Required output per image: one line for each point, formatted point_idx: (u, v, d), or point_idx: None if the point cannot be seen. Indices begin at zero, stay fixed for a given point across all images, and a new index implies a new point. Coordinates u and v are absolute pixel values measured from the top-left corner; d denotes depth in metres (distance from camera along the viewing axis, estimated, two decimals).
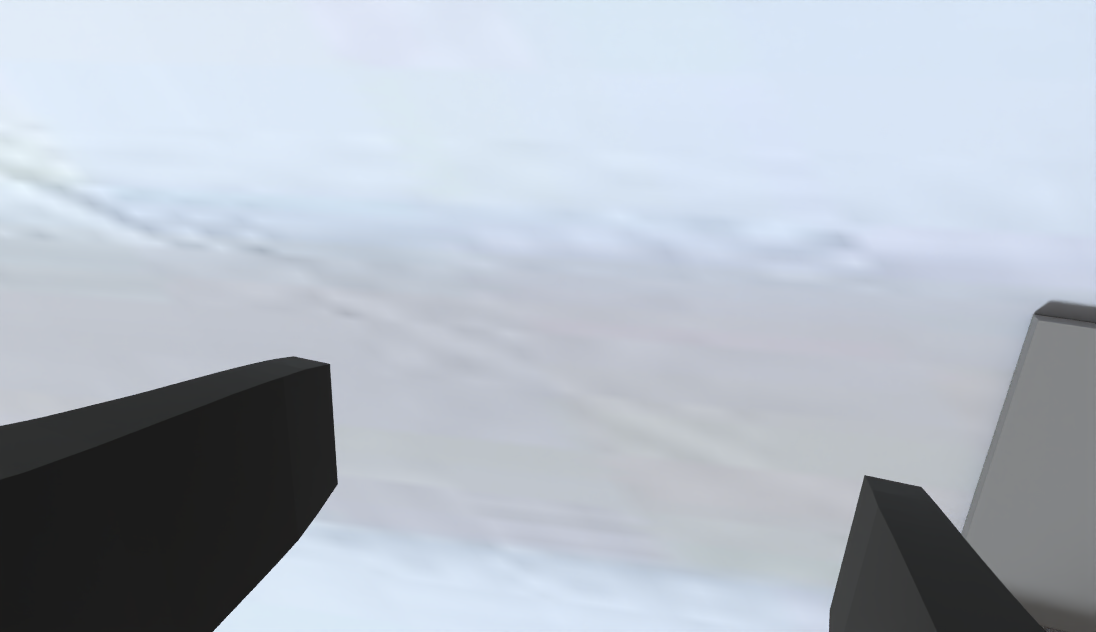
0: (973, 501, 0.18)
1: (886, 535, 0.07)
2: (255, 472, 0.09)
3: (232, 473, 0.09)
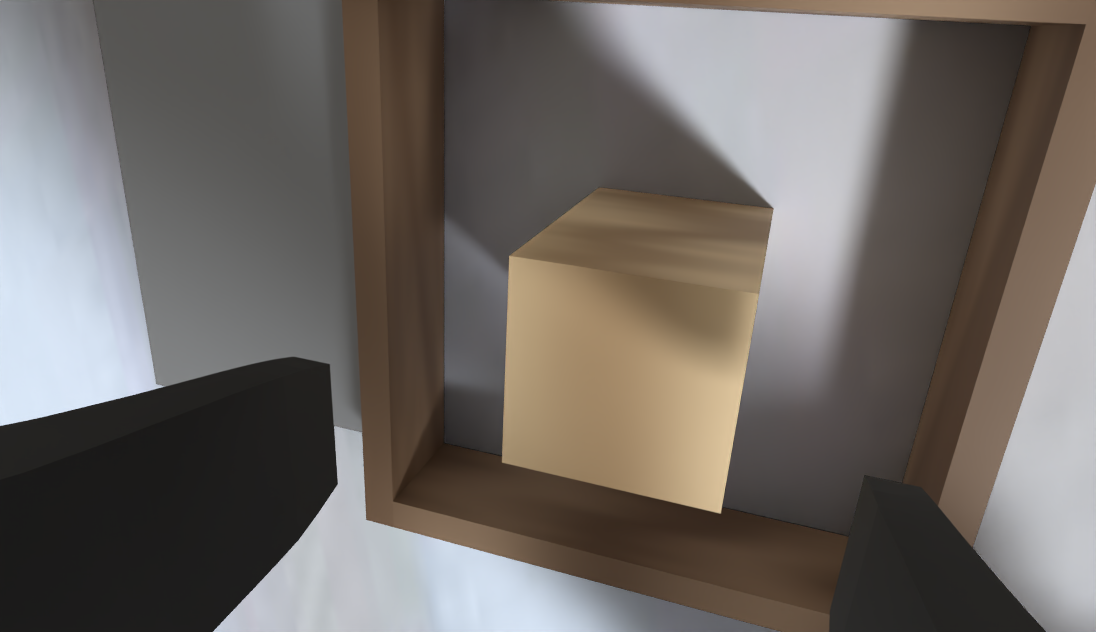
0: None
1: (886, 535, 0.07)
2: (255, 472, 0.09)
3: (232, 473, 0.09)
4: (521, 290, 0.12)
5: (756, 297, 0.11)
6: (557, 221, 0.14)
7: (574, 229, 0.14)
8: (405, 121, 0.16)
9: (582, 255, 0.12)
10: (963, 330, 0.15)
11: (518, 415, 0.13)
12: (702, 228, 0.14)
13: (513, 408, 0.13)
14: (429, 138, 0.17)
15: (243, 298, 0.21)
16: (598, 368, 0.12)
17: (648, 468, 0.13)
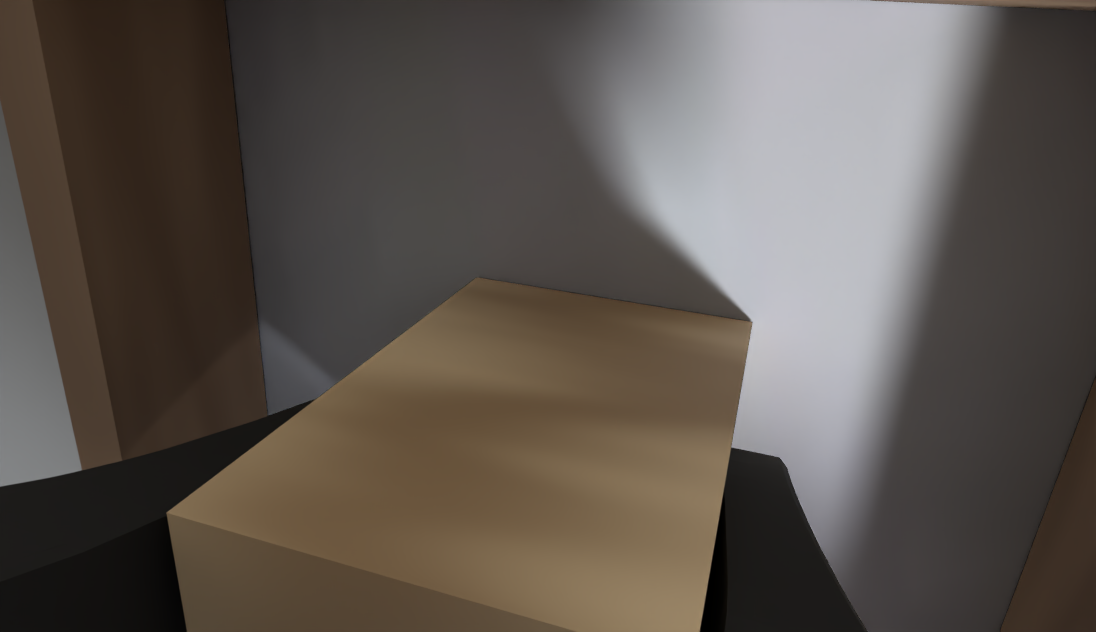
0: None
1: (723, 498, 0.07)
2: None
3: None
4: (202, 579, 0.06)
5: None
6: (351, 377, 0.08)
7: (369, 402, 0.07)
8: (139, 178, 0.10)
9: (333, 502, 0.06)
10: (1086, 561, 0.08)
11: None
12: (618, 387, 0.08)
13: None
14: (207, 199, 0.11)
15: (1, 412, 0.15)
16: None
17: None
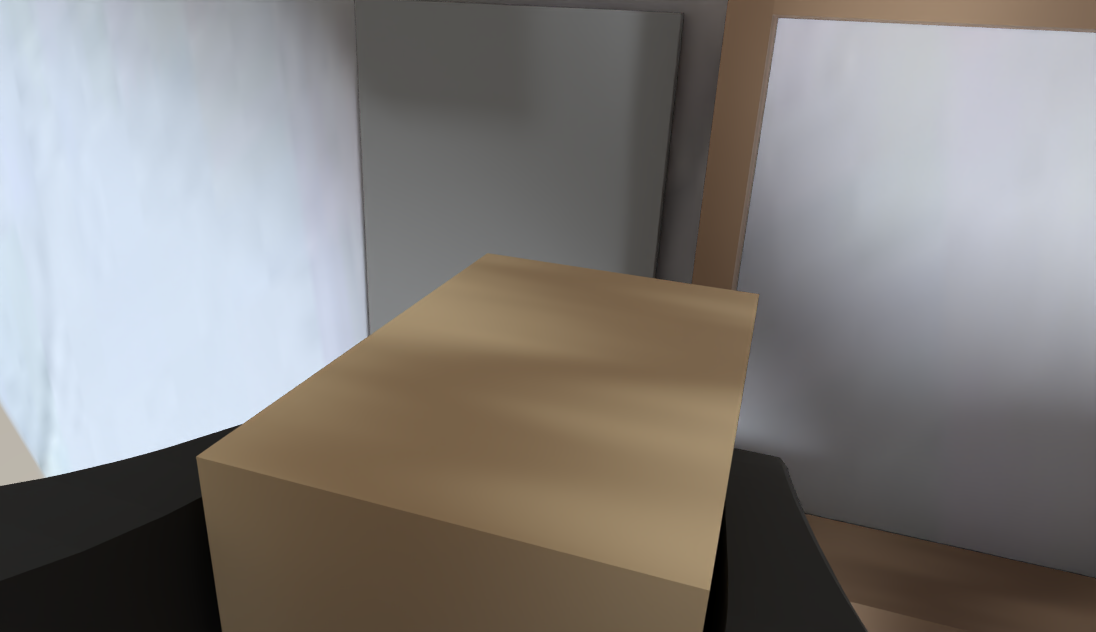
0: None
1: None
2: None
3: None
4: (230, 524, 0.06)
5: (704, 598, 0.05)
6: (368, 340, 0.08)
7: (387, 362, 0.07)
8: (753, 156, 0.15)
9: (356, 448, 0.06)
10: None
11: None
12: (629, 350, 0.08)
13: None
14: (753, 172, 0.16)
15: None
16: None
17: None
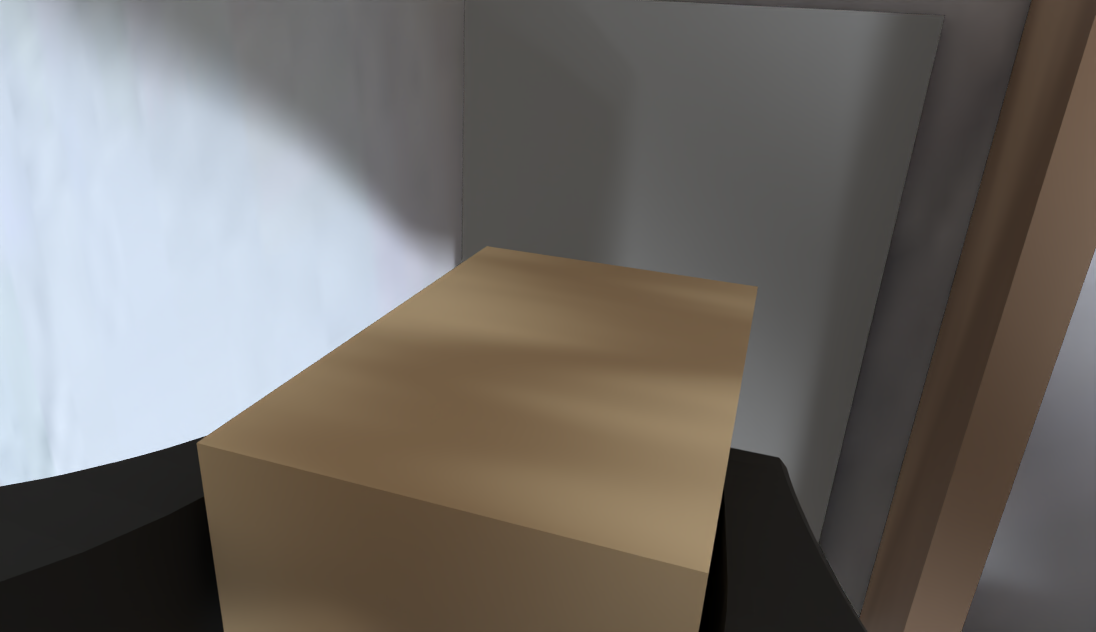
0: None
1: (723, 498, 0.07)
2: None
3: None
4: (230, 510, 0.06)
5: (702, 581, 0.05)
6: (368, 330, 0.08)
7: (387, 352, 0.07)
8: None
9: (357, 435, 0.06)
10: None
11: None
12: (628, 341, 0.08)
13: None
14: None
15: None
16: None
17: None
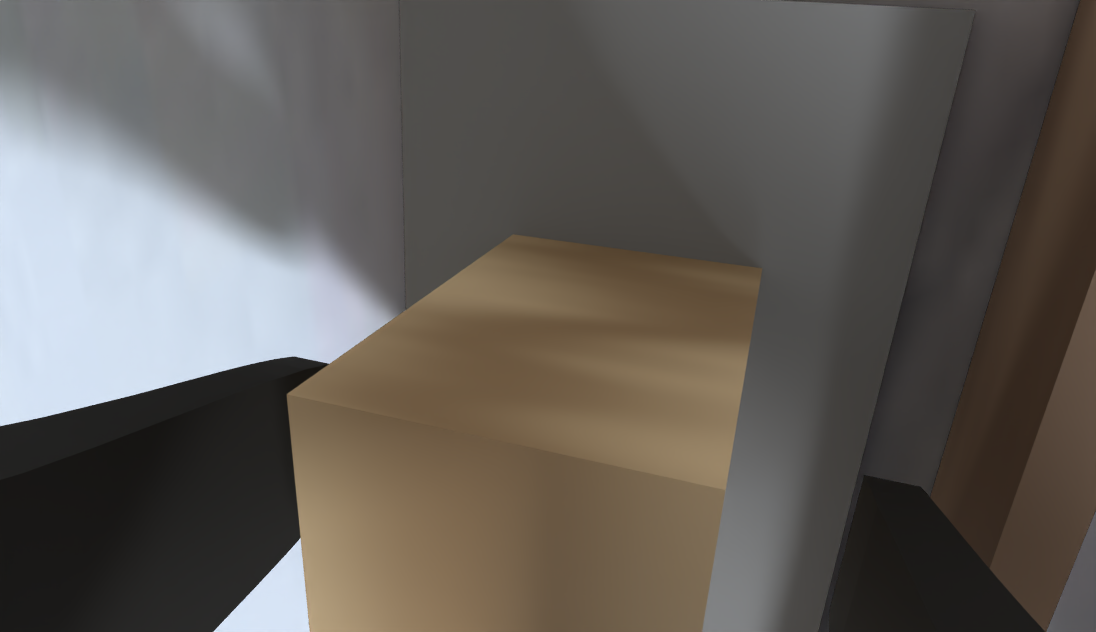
0: None
1: (885, 535, 0.07)
2: (255, 472, 0.09)
3: (232, 474, 0.09)
4: (313, 453, 0.07)
5: (720, 496, 0.06)
6: (417, 305, 0.09)
7: (436, 323, 0.09)
8: None
9: (420, 388, 0.07)
10: None
11: None
12: (647, 314, 0.09)
13: None
14: None
15: None
16: (451, 586, 0.07)
17: None
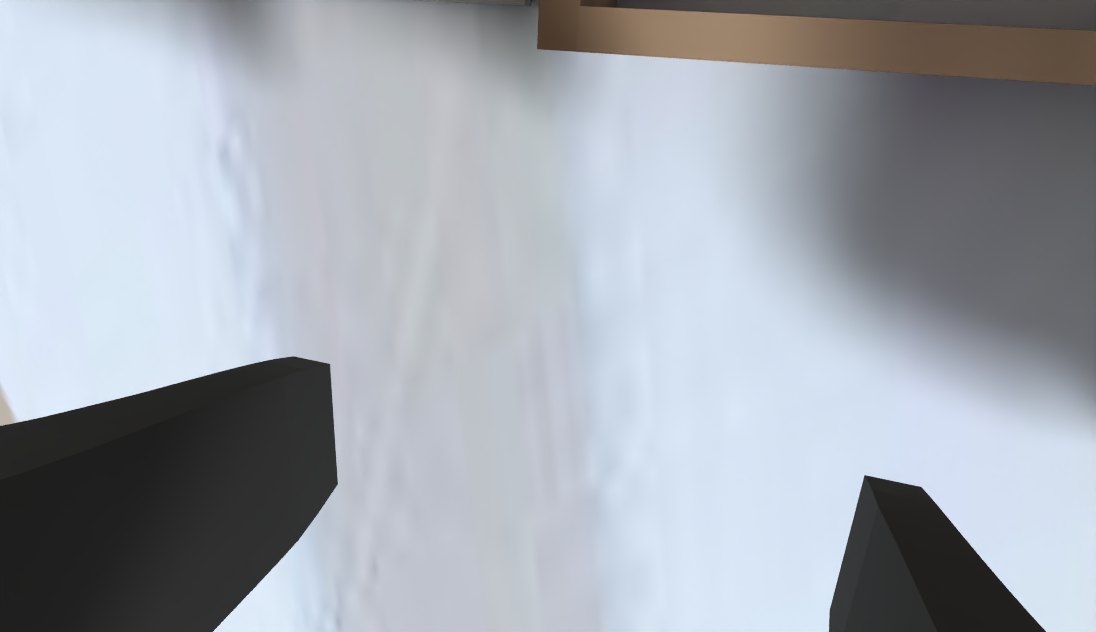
0: None
1: (886, 535, 0.07)
2: (255, 472, 0.09)
3: (232, 474, 0.09)
4: None
5: None
6: None
7: None
8: None
9: None
10: None
11: None
12: None
13: None
14: None
15: None
16: None
17: None
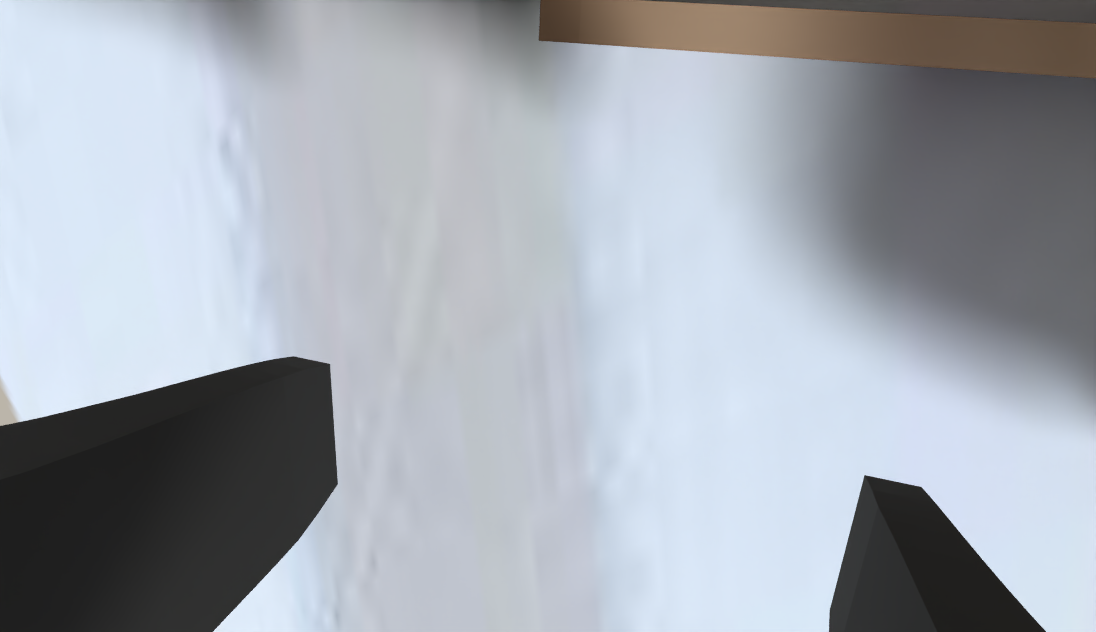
0: None
1: (886, 535, 0.07)
2: (255, 472, 0.09)
3: (231, 474, 0.09)
4: None
5: None
6: None
7: None
8: None
9: None
10: None
11: None
12: None
13: None
14: None
15: None
16: None
17: None
